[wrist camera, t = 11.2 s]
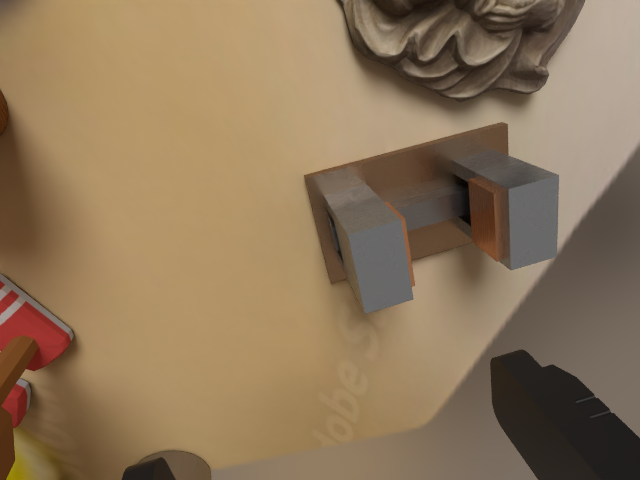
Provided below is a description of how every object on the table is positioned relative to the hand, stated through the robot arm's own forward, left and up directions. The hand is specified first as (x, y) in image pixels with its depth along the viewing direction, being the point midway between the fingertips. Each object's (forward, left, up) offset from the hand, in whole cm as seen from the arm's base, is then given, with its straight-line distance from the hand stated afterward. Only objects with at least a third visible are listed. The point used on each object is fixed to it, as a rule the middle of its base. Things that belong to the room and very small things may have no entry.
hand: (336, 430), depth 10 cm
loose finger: (-8, -6, -29) cm, 31 cm away
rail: (-8, -13, -30) cm, 34 cm away
